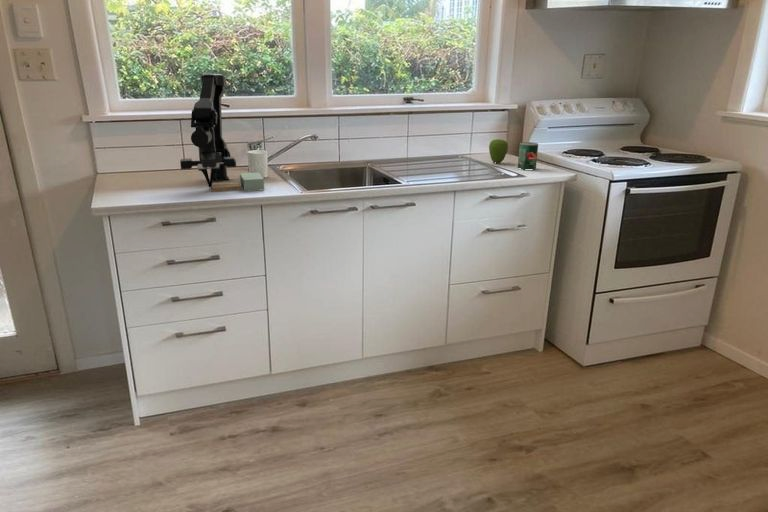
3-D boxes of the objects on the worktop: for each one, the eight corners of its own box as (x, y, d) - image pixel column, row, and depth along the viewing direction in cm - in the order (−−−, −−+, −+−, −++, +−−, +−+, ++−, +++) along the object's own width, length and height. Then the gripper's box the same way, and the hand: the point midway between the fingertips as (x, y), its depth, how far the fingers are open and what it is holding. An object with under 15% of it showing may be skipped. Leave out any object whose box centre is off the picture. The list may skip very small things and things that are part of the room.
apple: (506, 165, 263) (508, 139, 259) (487, 164, 265) (489, 138, 261) (507, 162, 271) (509, 137, 267) (488, 161, 273) (490, 136, 269)
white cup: (247, 175, 235) (245, 150, 232) (266, 174, 238) (265, 149, 235) (250, 179, 228) (248, 153, 225) (270, 178, 231) (269, 152, 228)
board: (211, 188, 214) (211, 183, 214) (239, 187, 217) (239, 182, 217) (212, 193, 208) (212, 187, 207) (241, 191, 211) (241, 185, 210)
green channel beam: (240, 184, 220) (239, 173, 218) (259, 183, 222) (258, 172, 221) (244, 191, 209) (243, 179, 208) (264, 189, 211) (263, 178, 210)
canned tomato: (532, 171, 251) (535, 145, 248) (515, 169, 255) (517, 143, 251) (538, 168, 258) (540, 143, 254) (520, 166, 262) (522, 141, 258)
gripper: (178, 147, 195) (183, 193, 200) (236, 145, 201) (239, 190, 206) (178, 142, 205) (182, 186, 210) (232, 140, 211) (235, 183, 216)
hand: (210, 186), depth 211 cm, fingers closed
